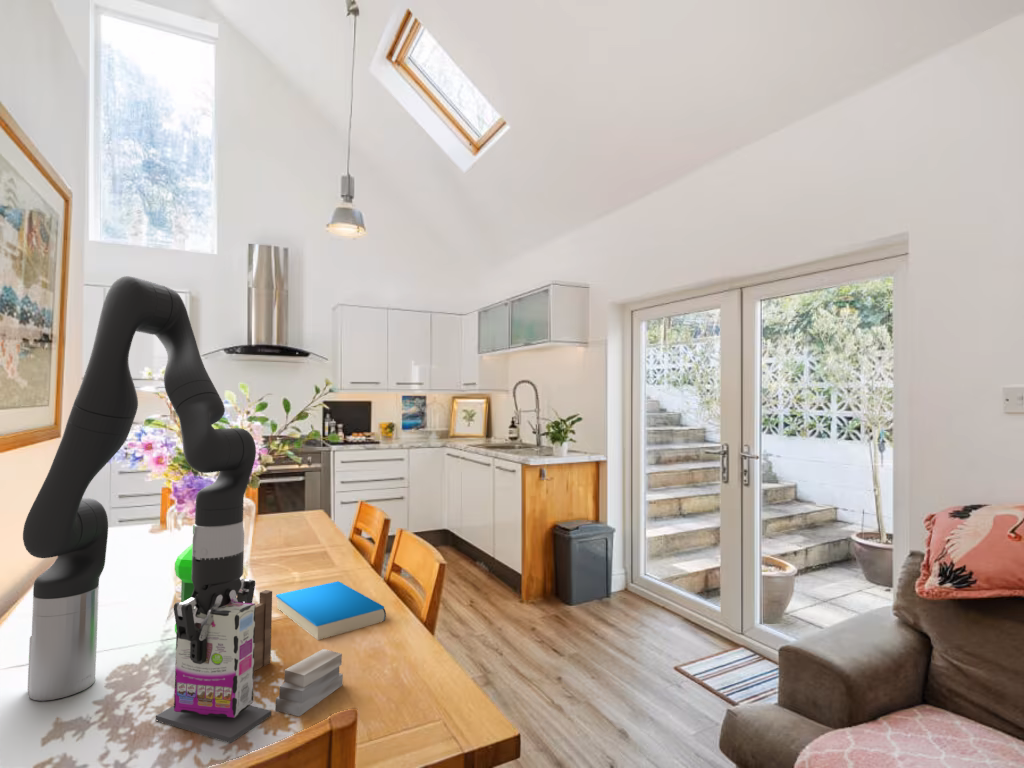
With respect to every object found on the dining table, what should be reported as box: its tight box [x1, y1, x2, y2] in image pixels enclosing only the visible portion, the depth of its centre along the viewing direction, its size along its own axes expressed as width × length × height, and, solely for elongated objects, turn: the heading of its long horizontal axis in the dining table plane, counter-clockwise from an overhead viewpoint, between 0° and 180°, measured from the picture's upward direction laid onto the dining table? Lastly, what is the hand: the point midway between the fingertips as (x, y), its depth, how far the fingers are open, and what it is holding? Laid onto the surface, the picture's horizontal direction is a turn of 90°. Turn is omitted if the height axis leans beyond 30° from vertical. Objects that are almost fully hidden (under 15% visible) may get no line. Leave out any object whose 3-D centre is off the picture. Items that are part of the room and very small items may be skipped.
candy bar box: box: [173, 602, 256, 718], centre depth 90 cm, size 11×5×16 cm, turn 80°
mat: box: [155, 704, 272, 744], centre depth 90 cm, size 16×8×1 cm, turn 69°
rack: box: [254, 589, 273, 672], centre depth 103 cm, size 2×15×14 cm, turn 159°
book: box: [275, 580, 387, 641], centre depth 134 cm, size 17×4×25 cm
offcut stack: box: [275, 648, 344, 717], centre depth 96 cm, size 5×11×6 cm, turn 159°
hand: (215, 654), depth 90 cm, fingers closed on candy bar box, 5 cm apart
